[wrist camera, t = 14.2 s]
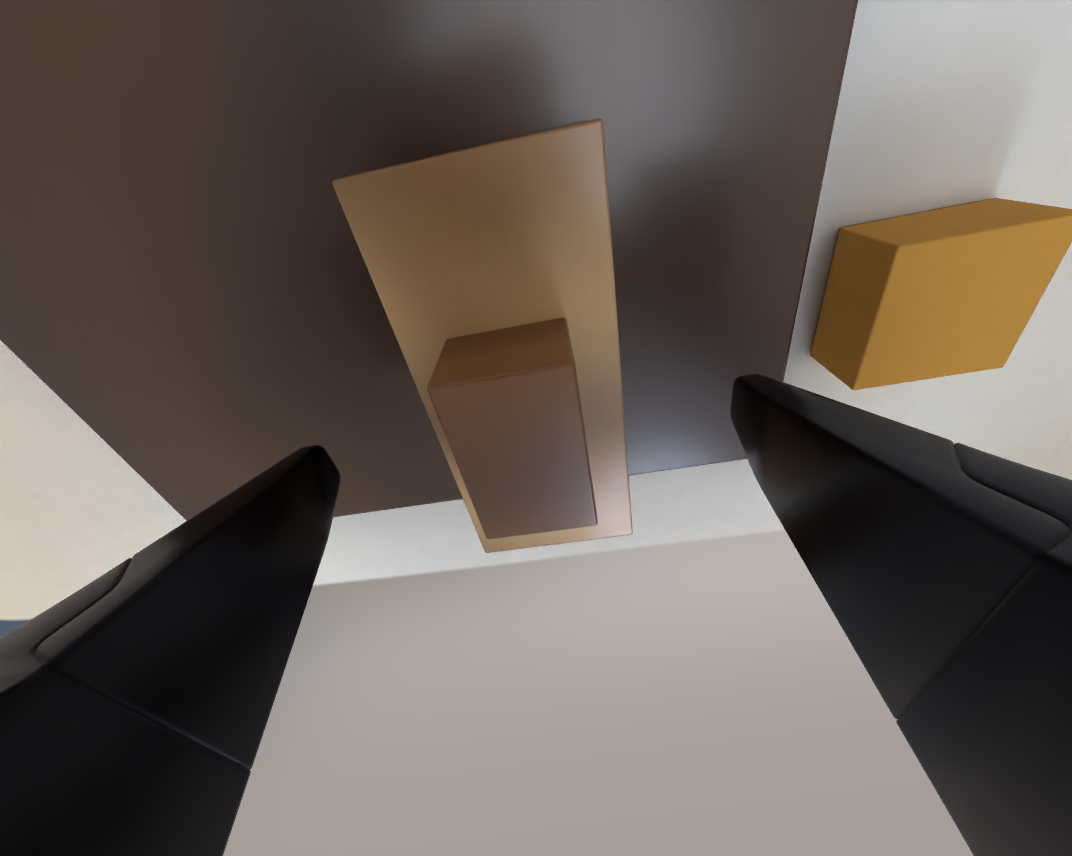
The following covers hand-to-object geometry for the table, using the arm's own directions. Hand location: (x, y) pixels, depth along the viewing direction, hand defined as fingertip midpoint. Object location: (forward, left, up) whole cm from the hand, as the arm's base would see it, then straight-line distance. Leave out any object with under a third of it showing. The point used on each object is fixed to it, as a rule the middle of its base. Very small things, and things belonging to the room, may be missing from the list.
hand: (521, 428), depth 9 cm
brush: (0, 0, -3) cm, 3 cm away
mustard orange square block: (-6, -8, -4) cm, 11 cm away
